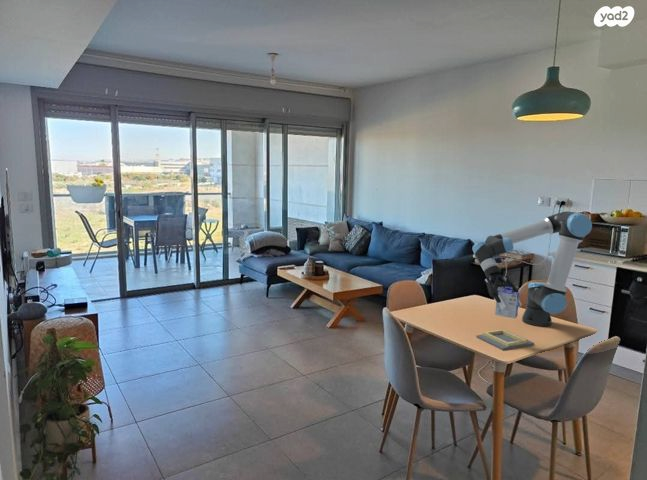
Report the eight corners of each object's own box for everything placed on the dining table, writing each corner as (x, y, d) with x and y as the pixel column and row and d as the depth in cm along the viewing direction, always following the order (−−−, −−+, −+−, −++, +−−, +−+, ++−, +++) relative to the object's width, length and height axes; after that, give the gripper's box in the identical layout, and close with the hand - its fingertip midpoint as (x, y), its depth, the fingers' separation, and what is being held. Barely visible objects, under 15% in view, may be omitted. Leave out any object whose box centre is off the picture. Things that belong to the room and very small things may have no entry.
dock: (506, 332, 234) (506, 328, 233) (533, 344, 217) (534, 339, 217) (476, 337, 226) (476, 332, 226) (502, 350, 210) (502, 345, 209)
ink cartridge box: (517, 316, 220) (520, 287, 217) (515, 319, 215) (518, 290, 213) (496, 312, 225) (499, 284, 223) (494, 315, 220) (496, 287, 218)
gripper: (503, 271, 235) (524, 308, 223) (469, 274, 227) (489, 312, 215) (511, 263, 230) (533, 301, 218) (477, 266, 222) (498, 305, 209)
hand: (511, 307), depth 216 cm, fingers closed on ink cartridge box, 9 cm apart
